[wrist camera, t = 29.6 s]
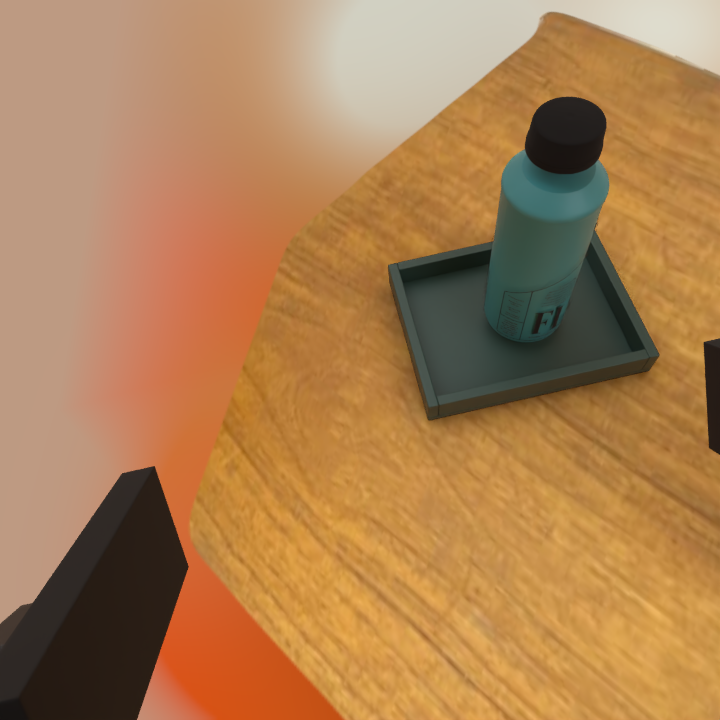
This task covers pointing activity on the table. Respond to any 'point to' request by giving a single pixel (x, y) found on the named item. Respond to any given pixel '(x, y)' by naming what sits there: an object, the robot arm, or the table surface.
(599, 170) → the beverage bottle
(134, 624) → the robot arm
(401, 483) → the table surface
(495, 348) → the tray
